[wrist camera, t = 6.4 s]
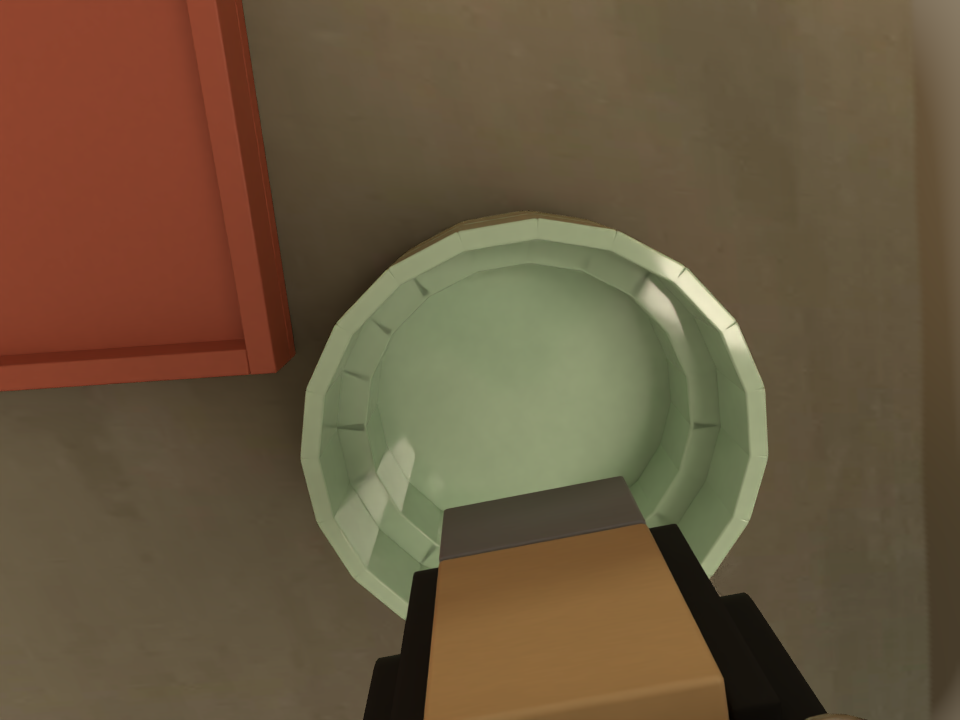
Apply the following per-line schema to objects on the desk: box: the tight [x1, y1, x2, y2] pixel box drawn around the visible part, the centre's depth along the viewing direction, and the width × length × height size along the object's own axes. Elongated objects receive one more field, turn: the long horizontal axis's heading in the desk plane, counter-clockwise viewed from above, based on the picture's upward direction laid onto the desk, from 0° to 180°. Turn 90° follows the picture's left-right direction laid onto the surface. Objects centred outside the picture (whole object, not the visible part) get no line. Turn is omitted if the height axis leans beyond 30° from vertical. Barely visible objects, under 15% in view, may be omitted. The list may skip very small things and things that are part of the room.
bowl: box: [300, 210, 768, 621], centre depth 19 cm, size 12×12×5 cm
